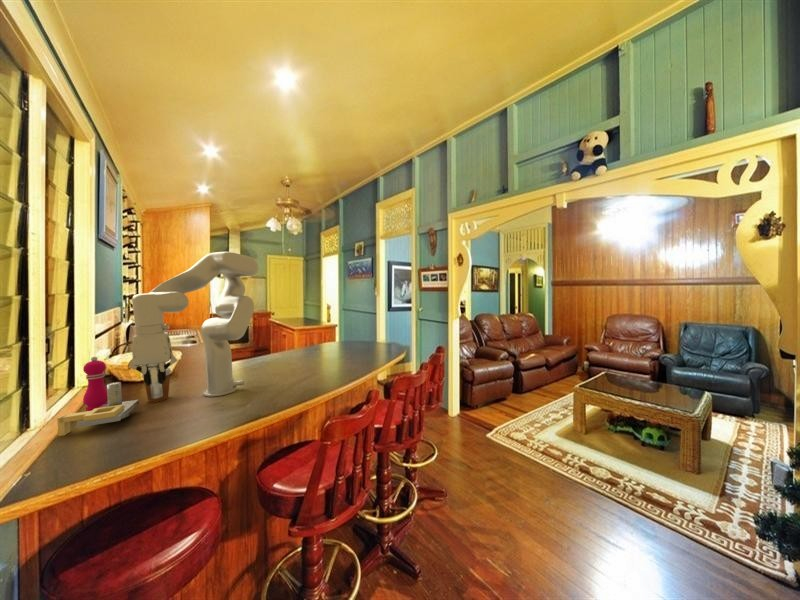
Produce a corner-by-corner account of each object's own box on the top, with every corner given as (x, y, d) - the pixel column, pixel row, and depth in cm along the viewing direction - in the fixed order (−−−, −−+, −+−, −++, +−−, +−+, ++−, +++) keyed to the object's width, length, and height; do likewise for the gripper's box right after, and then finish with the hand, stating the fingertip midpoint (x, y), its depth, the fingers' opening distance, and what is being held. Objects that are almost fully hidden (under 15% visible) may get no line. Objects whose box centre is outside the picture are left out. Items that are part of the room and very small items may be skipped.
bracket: (124, 420, 105) (123, 404, 105) (115, 429, 99) (114, 411, 98) (68, 429, 100) (66, 412, 99) (54, 439, 93) (52, 421, 93)
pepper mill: (94, 414, 112) (90, 358, 112) (78, 413, 114) (74, 358, 113) (116, 406, 119) (112, 354, 119) (101, 405, 121) (97, 354, 120)
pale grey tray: (139, 410, 114) (137, 377, 114) (120, 428, 99) (117, 390, 98) (103, 415, 110) (101, 382, 110) (78, 435, 95) (75, 396, 94)
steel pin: (165, 394, 109) (162, 360, 108) (162, 397, 106) (158, 362, 105) (152, 396, 108) (148, 361, 107) (148, 399, 104) (144, 364, 103)
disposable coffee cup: (172, 400, 124) (170, 370, 124) (141, 406, 119) (139, 374, 119) (174, 394, 132) (172, 366, 132) (145, 399, 127) (143, 369, 127)
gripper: (181, 326, 112) (186, 376, 113) (123, 331, 105) (129, 384, 106) (176, 329, 105) (182, 382, 106) (114, 334, 98) (120, 391, 100)
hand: (155, 383), depth 106 cm, fingers closed on steel pin, 3 cm apart
